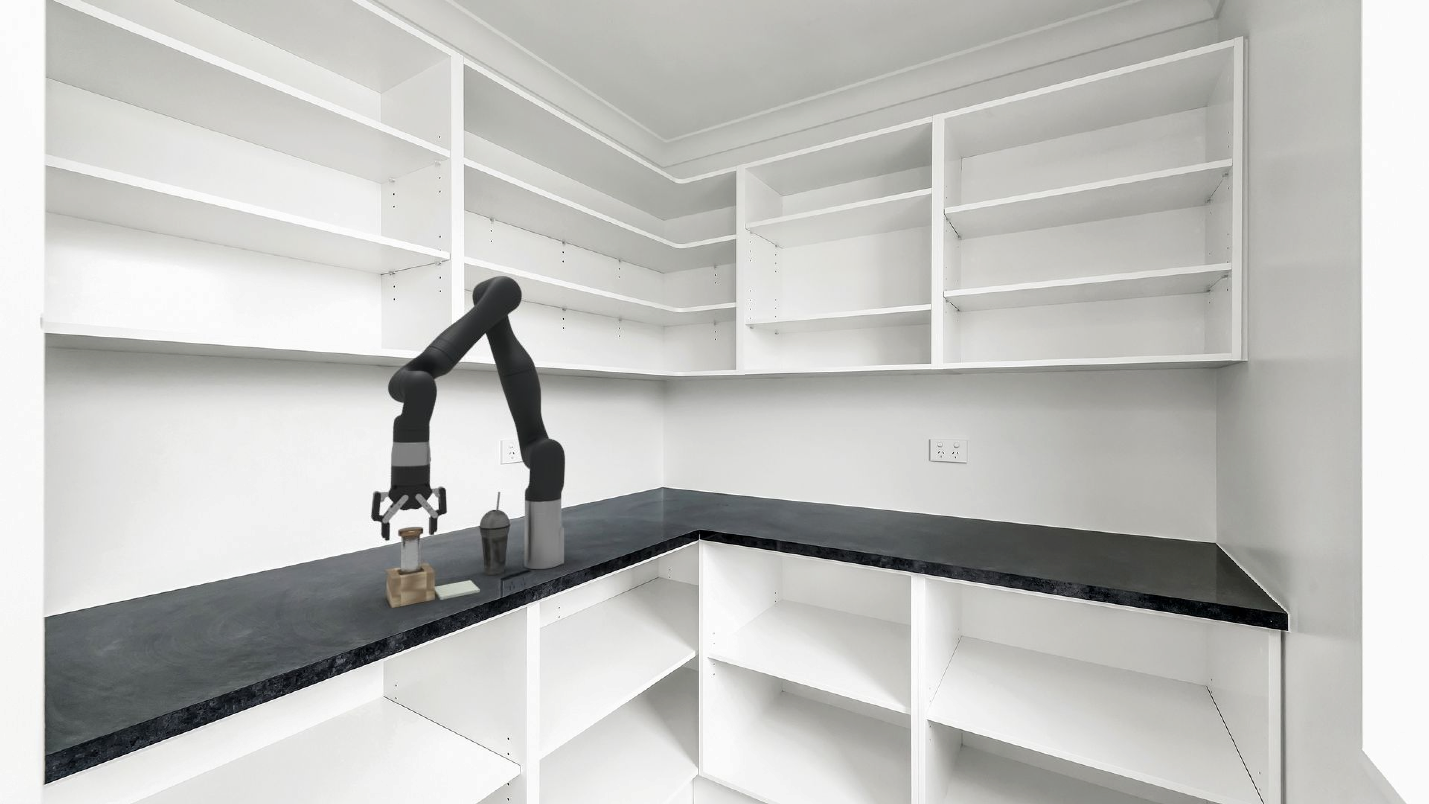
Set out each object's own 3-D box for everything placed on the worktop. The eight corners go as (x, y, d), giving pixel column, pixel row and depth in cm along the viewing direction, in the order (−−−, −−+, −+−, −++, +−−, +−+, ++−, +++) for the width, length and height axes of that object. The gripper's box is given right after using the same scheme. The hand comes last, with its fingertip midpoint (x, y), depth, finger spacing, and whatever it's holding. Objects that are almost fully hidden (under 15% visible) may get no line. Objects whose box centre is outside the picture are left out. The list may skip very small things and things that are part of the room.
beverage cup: (472, 573, 138) (473, 493, 138) (498, 566, 144) (498, 489, 144) (490, 578, 134) (490, 495, 134) (516, 570, 140) (516, 491, 140)
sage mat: (470, 582, 130) (470, 580, 130) (479, 592, 124) (479, 589, 124) (432, 589, 125) (432, 587, 125) (440, 599, 119) (440, 597, 119)
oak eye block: (427, 589, 126) (427, 563, 126) (434, 599, 119) (434, 571, 119) (386, 596, 121) (386, 569, 121) (392, 607, 114) (392, 579, 114)
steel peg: (420, 592, 123) (421, 525, 123) (424, 599, 120) (425, 529, 120) (396, 597, 120) (396, 528, 120) (399, 604, 117) (400, 533, 117)
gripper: (443, 459, 127) (441, 529, 127) (370, 462, 119) (369, 538, 119) (450, 462, 121) (449, 536, 121) (374, 466, 113) (373, 545, 113)
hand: (409, 537), depth 120 cm, fingers open, 8 cm apart
